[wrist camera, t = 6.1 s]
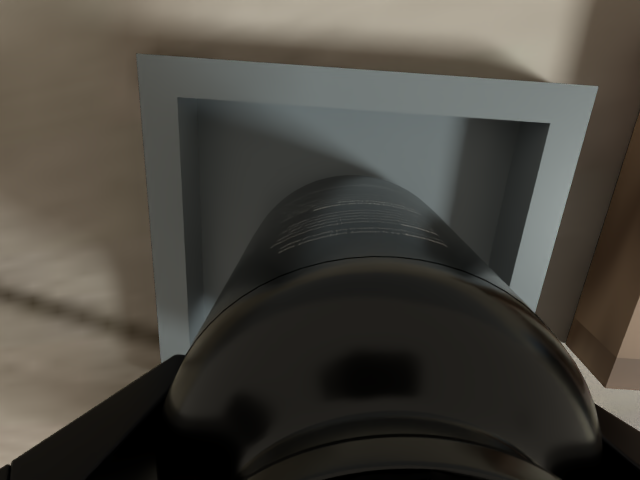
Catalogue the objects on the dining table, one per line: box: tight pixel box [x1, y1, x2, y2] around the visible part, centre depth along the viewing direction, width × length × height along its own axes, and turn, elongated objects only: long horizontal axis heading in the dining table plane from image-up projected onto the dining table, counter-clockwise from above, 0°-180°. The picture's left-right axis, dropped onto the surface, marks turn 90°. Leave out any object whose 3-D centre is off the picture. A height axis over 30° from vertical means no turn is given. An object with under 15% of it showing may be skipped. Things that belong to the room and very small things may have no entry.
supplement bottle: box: [156, 175, 604, 480], centre depth 9 cm, size 7×7×12 cm
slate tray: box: [136, 54, 599, 363], centre depth 14 cm, size 12×12×2 cm
